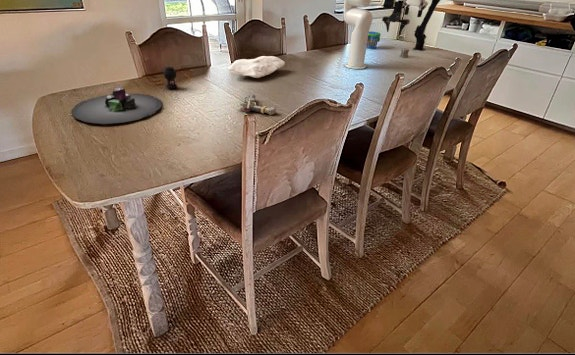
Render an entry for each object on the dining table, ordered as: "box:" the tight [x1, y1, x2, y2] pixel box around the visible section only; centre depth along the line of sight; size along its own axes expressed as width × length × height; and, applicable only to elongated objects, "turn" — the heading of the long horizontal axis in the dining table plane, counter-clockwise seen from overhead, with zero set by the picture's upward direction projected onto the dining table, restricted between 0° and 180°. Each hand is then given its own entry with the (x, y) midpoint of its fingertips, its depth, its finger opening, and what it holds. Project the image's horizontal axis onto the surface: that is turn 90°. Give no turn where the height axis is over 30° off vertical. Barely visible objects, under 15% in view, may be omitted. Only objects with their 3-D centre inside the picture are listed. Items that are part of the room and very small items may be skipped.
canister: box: [400, 48, 410, 58], centre depth 243 cm, size 5×5×5 cm
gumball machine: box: [161, 66, 179, 90], centre depth 173 cm, size 7×6×10 cm
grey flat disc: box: [70, 86, 163, 125], centre depth 150 cm, size 35×35×9 cm
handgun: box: [239, 93, 277, 116], centre depth 158 cm, size 3×18×15 cm
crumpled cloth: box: [227, 55, 286, 79], centre depth 196 cm, size 24×35×9 cm
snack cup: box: [366, 31, 381, 49], centre depth 259 cm, size 16×10×10 cm
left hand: (412, 15), depth 228 cm, fingers open, 9 cm apart
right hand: (393, 33), depth 266 cm, fingers open, 9 cm apart
